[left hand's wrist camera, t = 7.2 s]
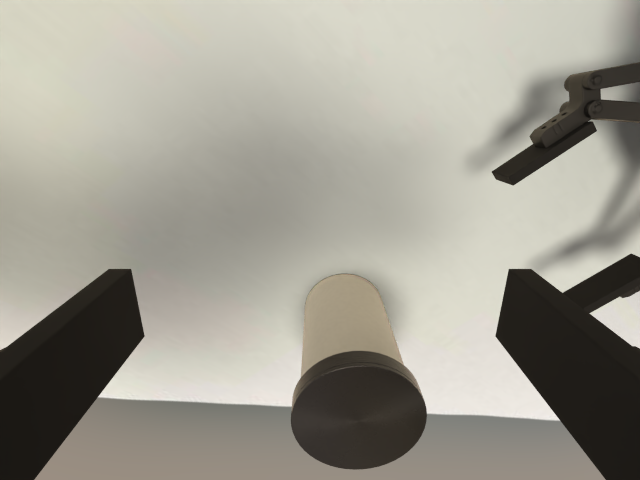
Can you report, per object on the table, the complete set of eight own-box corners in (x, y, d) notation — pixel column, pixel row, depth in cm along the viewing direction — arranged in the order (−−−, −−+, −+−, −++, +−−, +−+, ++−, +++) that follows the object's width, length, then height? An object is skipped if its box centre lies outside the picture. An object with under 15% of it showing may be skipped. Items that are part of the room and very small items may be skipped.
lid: (439, 422, 29) (446, 441, 27) (329, 465, 30) (329, 485, 29) (388, 329, 25) (393, 344, 24) (268, 382, 27) (265, 399, 25)
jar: (394, 322, 41) (435, 433, 27) (327, 352, 43) (332, 473, 29) (361, 260, 39) (387, 349, 25) (290, 294, 40) (276, 397, 26)
